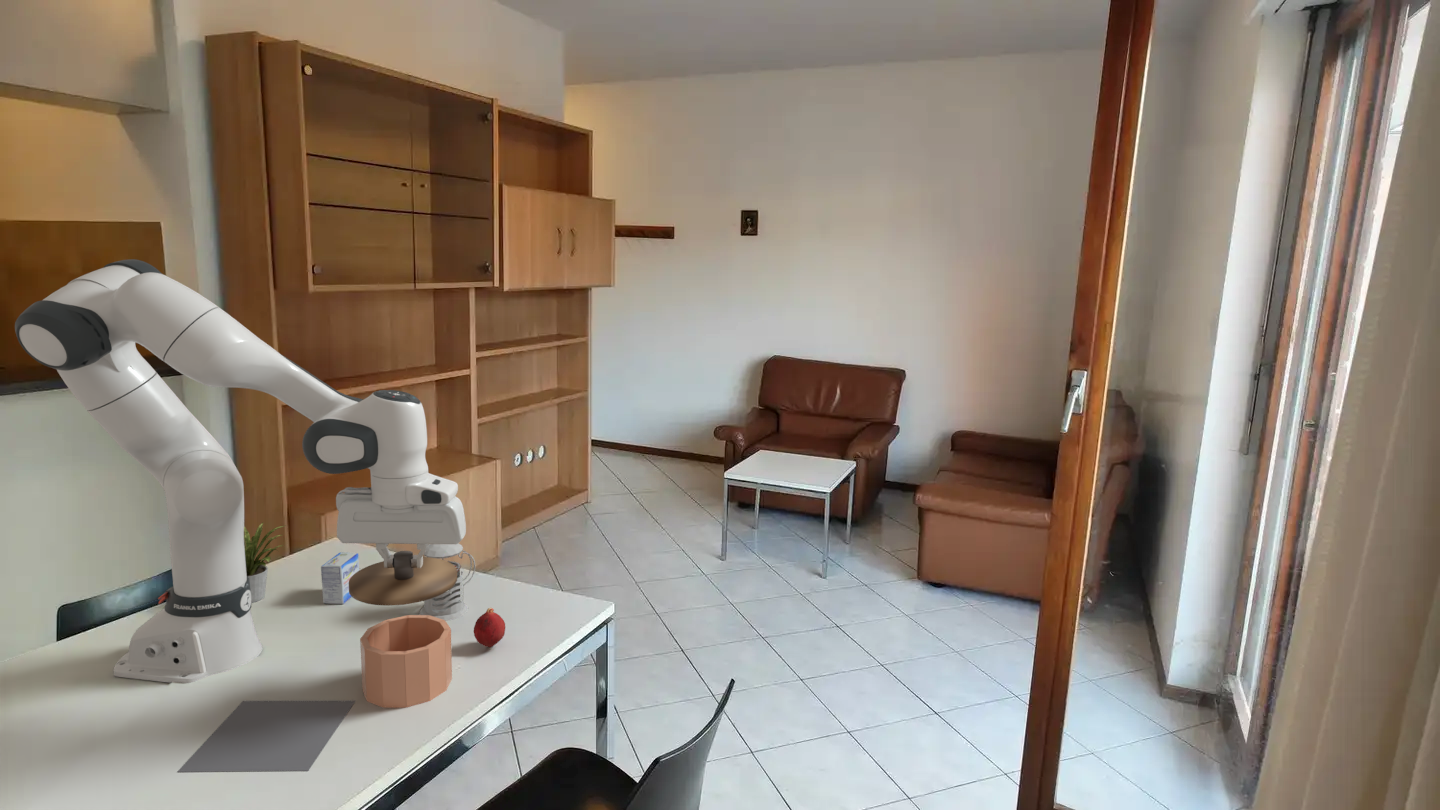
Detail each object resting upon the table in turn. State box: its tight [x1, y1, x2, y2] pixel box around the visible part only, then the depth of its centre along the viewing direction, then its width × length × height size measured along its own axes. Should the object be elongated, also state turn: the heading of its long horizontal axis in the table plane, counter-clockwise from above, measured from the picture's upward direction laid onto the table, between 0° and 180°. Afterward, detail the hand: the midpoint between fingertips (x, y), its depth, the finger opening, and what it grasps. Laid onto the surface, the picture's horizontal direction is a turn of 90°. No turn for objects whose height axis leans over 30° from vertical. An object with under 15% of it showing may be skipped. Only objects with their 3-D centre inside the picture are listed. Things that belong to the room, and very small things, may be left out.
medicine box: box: [320, 551, 360, 605], centre depth 169 cm, size 8×4×9 cm, turn 179°
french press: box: [418, 542, 476, 622], centre depth 163 cm, size 10×12×25 cm
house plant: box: [244, 522, 287, 604], centre depth 166 cm, size 14×14×16 cm
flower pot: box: [359, 614, 453, 709], centre depth 135 cm, size 14×14×10 cm
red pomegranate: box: [473, 607, 506, 649], centre depth 150 cm, size 6×6×8 cm
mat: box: [176, 700, 356, 773], centre depth 121 cm, size 18×18×1 cm
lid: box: [349, 550, 457, 606], centre depth 132 cm, size 17×17×5 cm
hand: (403, 566), depth 132 cm, fingers closed on lid, 3 cm apart
